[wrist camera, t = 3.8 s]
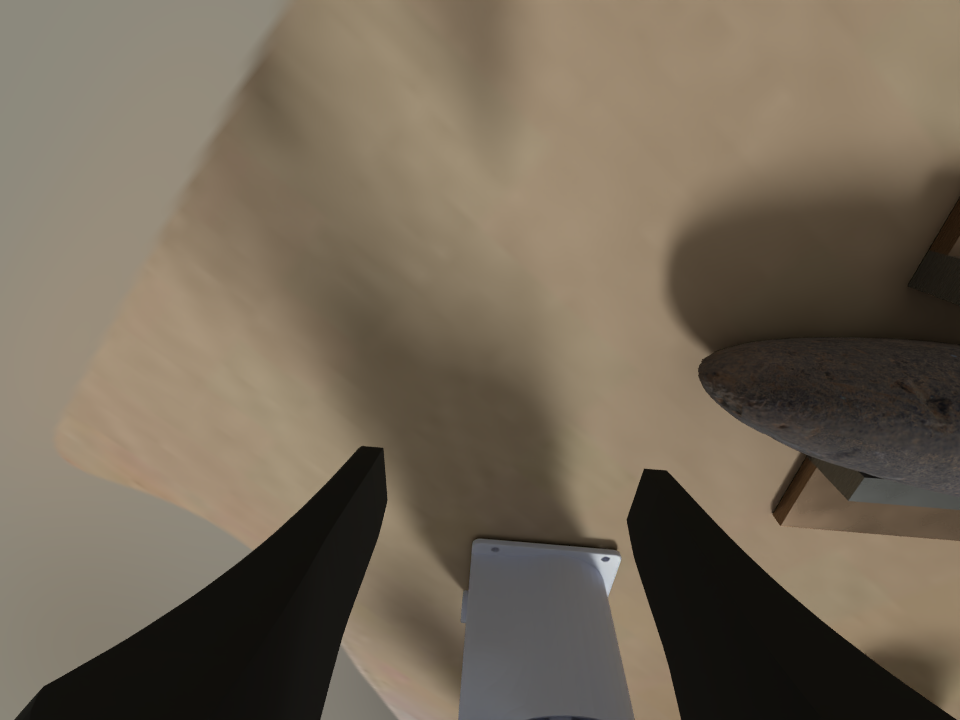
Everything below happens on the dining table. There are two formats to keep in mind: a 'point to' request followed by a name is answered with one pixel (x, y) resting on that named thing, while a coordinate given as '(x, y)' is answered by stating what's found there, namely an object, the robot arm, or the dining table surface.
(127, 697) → the robot arm
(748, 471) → the dining table surface
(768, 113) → the dining table surface
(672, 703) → the dining table surface
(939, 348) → the perforated stone tool
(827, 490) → the brown tray
